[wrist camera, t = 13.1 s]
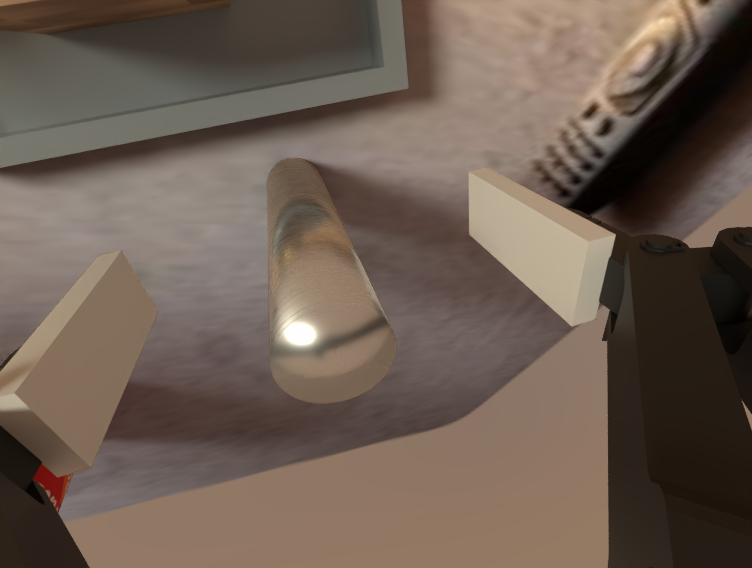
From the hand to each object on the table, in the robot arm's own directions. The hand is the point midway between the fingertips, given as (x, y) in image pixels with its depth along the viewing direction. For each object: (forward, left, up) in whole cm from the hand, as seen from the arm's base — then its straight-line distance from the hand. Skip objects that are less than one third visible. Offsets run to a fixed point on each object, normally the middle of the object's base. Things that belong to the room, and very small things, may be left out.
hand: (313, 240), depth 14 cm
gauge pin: (0, 0, -7) cm, 7 cm away
